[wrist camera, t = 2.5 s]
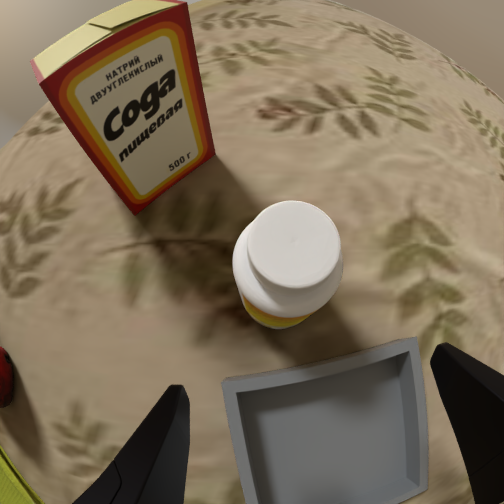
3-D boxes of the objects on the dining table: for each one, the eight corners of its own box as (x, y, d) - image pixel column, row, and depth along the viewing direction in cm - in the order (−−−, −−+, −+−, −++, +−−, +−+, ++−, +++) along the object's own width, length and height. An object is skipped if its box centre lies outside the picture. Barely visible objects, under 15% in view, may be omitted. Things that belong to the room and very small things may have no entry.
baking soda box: (134, 215, 24) (35, 79, 9) (106, 176, 25) (27, 57, 10) (215, 154, 26) (186, -3, 11) (179, 123, 27) (141, -8, 12)
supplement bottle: (325, 314, 20) (379, 281, 11) (255, 339, 20) (252, 330, 10) (299, 248, 22) (326, 172, 13) (231, 270, 22) (211, 204, 12)
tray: (411, 478, 15) (427, 489, 12) (256, 521, 14) (255, 540, 12) (397, 339, 19) (416, 336, 17) (226, 377, 19) (221, 382, 16)
